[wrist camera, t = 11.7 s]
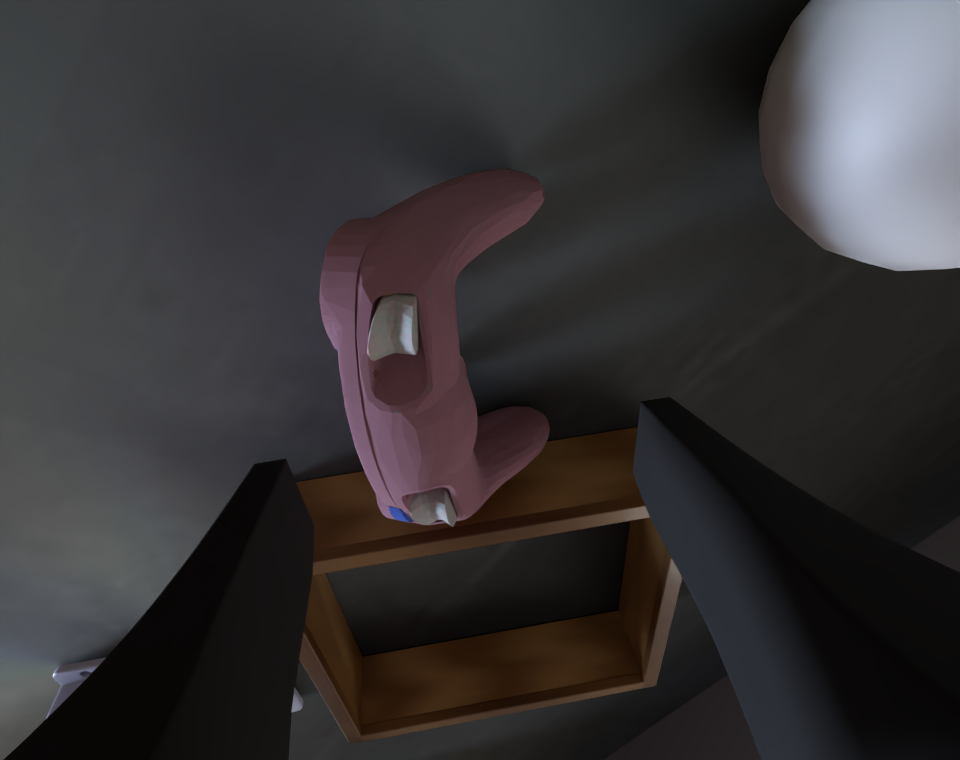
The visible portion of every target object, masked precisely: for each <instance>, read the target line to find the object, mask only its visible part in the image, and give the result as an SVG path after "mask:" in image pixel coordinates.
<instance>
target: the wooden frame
mask: <svg viewBox="0 0 960 760" xmlns="http://www.w3.org/2000/svg"><path fill="white" fill-rule="evenodd" d="M637 429H638V427H635V428H629V429H623V430H616V431H610V432H604V433H598V434H592V435H585V436H579V437H573V438H567V439H561V440H554V441H548V442H546V444H545V446H544V447H543V449H542V451H541V452H540V454H539V455H538V456H536V457H535V458H534V459H533V460H532V461H531V462H530V463H529V464H528V465H527V466H526V467H525V468H523V469H522V470H521V471H519V472H518V473H517V474H515V475H514V476H513V477H511V478H510V479H509V480H507V481H506V482H505V483H504V484H502V485H501V486H500V487H499V488H498V489H497V490H496V491H495V492H494V493H493V494H492V495H491V496H490V497H489V498H488V499H487V501H486V502H485V503H484V504H483V505H482V506H481V507H480V508H479V509H478V511H476V512H475V513H474V514H473V515H472V516H470V517H469V518H467V519H465V520H460V521H456V522H455V524H454V526H453V527H452V526H450V525H449V524H448V523H441V524H434V525H421V524H417V523H412V522H411V523H408V522H404V521H400V520H395V519H390V518H387V517H385V516H384V515H383V514H382V513H381V511H380V509H379V506H378V504H377V498H376V493H375V491H374V490H373V488H372V486H371V484H370V482H369V480H368V478H367V476H366V474H365V472H364V471H362V472H356V473H350V474H344V475H337V476H331V477H325V478H319V479H313V480H306V481H300V482H296V484H297V486H298V488H299V491H300V493H301V496H302V498H303V500H304V503H305V505H306V507H307V510H308V512H309V514H310V517H311V519H312V521H313V524H314V555H313V575H312V582H311V589H310V595H309V601H308V608H307V614H306V620H305V627H304V633H303V639H302V645H301V651H300V657H299V660H300V661H301V663H302V665H303V666H304V668H305V670H306V671H307V673H308V675H309V676H310V678H311V680H312V681H313V683H314V685H315V686H316V688H317V690H318V691H319V693H320V695H321V697H322V698H323V700H324V702H325V703H326V705H327V707H328V708H329V710H330V712H331V713H332V715H333V717H334V718H335V720H336V722H337V723H338V725H339V727H340V728H341V730H342V732H343V733H344V735H345V737H346V738H347V740H348V742H349V743H350V744H353V743H358V742H364V741H369V740H374V739H379V738H384V737H390V736H395V735H400V734H405V733H411V732H416V731H421V730H426V729H432V728H437V727H442V726H447V725H453V724H458V723H463V722H468V721H473V720H479V719H484V718H489V717H494V716H500V715H505V714H510V713H515V712H521V711H526V710H531V709H536V708H541V707H547V706H552V705H557V704H562V703H568V702H573V701H578V700H583V699H589V698H594V697H599V696H604V695H610V694H615V693H620V692H625V691H630V690H636V689H641V688H646V687H651V686H655V685H656V683H657V679H658V674H659V670H660V666H661V662H662V658H663V654H664V650H665V646H666V642H667V638H668V634H669V630H670V626H671V622H672V618H673V614H674V609H675V605H676V601H677V597H678V593H679V589H680V585H681V581H682V577H681V575H680V573H679V571H678V569H677V567H676V565H675V564H674V562H673V560H672V558H671V556H670V554H669V552H668V551H667V549H666V547H665V545H664V543H663V541H662V539H661V537H660V535H659V533H658V532H657V530H656V528H655V526H654V524H653V522H652V520H651V518H650V516H649V514H648V511H647V509H646V506H645V504H644V501H643V499H642V496H641V494H640V491H639V488H638V485H637V483H636V480H635V477H634V475H633V472H632V471H633V462H634V454H635V446H636V437H637ZM626 521H630V525H629V533H628V541H627V548H626V556H625V564H624V572H623V579H622V587H621V595H620V602H619V610H618V611H612V612H607V613H601V614H596V615H590V616H585V617H579V618H574V619H568V620H563V621H557V622H552V623H546V624H541V625H535V626H530V627H524V628H519V629H513V630H508V631H502V632H497V633H491V634H486V635H480V636H475V637H469V638H464V639H458V640H453V641H447V642H442V643H436V644H431V645H425V646H420V647H414V648H409V649H403V650H398V651H392V652H387V653H381V654H376V655H370V656H365V657H363V656H362V654H361V652H360V650H359V648H358V645H357V643H356V641H355V639H354V636H353V634H352V632H351V630H350V627H349V625H348V623H347V621H346V619H345V616H344V614H343V612H342V610H341V607H340V605H339V603H338V601H337V598H336V596H335V594H334V592H333V590H332V587H331V585H330V583H329V581H328V578H327V576H326V574H325V573H329V572H335V571H341V570H346V569H352V568H358V567H364V566H370V565H376V564H381V563H387V562H393V561H399V560H405V559H410V558H416V557H422V556H428V555H434V554H440V553H445V552H451V551H457V550H463V549H469V548H474V547H480V546H486V545H492V544H498V543H504V542H509V541H515V540H521V539H527V538H533V537H539V536H544V535H550V534H556V533H562V532H568V531H573V530H579V529H585V528H591V527H597V526H603V525H608V524H614V523H620V522H626Z"/></svg>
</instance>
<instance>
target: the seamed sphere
mask: <svg viewBox="0 0 960 760" xmlns="http://www.w3.org/2000/svg"><path fill="white" fill-rule="evenodd" d="M758 113H759V143H760V156H761V164H762V171H763V174H764V176H765V179H766V181H767V183H768V186H769V188H770V190H771V193H772V195H773V198H774V200H775V202H776V205H777V206H778V207H779V208H780V209H781V210H782V211H783V212H784V213H785V214H786V215H787V216H788V217H789V218H790V219H791V220H792V221H793V222H794V223H795V224H796V225H797V226H798V227H799V228H800V229H801V230H802V231H804V232H805V233H806V234H807V235H808V236H809V237H810V238H812V239H813V240H814V241H815V242H816V243H817V244H819V245H820V246H821V247H822V248H823V249H825V250H828V251H831V252H834V253H837V254H840V255H843V256H846V257H849V258H852V259H855V260H858V261H861V262H864V263H868V264H872V265H876V266H880V267H884V268H887V269H891V270H895V271H910V270H933V269H951V268H960V0H810V2H809V3H808V4H807V5H806V7H805V8H804V9H803V10H802V12H801V13H800V14H799V15H798V17H797V18H796V19H795V20H794V22H793V23H792V24H791V26H790V28H789V30H788V32H787V34H786V36H785V38H784V40H783V42H782V44H781V46H780V48H779V50H778V52H777V54H776V56H775V58H774V60H773V62H772V64H771V66H770V68H769V71H768V75H767V79H766V84H765V88H764V92H763V96H762V100H761V104H760V108H759V112H758Z"/></svg>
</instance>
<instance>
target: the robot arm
mask: <svg viewBox="0 0 960 760" xmlns="http://www.w3.org/2000/svg"><path fill="white" fill-rule="evenodd" d="M632 472H633V475H634V477H635V480H636V483H637V485H638V488H639V491H640V494H641V496H642V499H643V501H644V504H645V506H646V509H647V511H648V514H649V516H650V518H651V520H652V522H653V524H654V526H655V528H656V530H657V532H658V533H659V535H660V537H661V539H662V541H663V543H664V545H665V547H666V549H667V551H668V552H669V554H670V556H671V558H672V560H673V562H674V564H675V565H676V567H677V569H678V571H679V573H680V575H681V577H682V578H683V580H684V582H685V584H686V586H687V588H688V590H689V591H690V593H691V595H692V597H693V599H694V601H695V603H696V604H697V606H698V608H699V610H700V612H701V614H702V616H703V618H704V620H705V622H706V624H707V626H708V628H709V630H710V633H711V635H712V637H713V639H714V642H715V644H716V647H717V649H718V651H719V654H720V656H721V658H722V661H723V663H724V666H725V668H726V670H727V673H728V675H729V677H730V680H731V682H732V685H733V687H734V690H735V692H736V695H737V697H738V700H739V703H740V705H741V707H742V710H743V712H744V715H745V718H746V720H747V723H748V725H749V728H750V730H751V733H752V735H753V738H754V740H755V743H756V746H757V749H758V751H759V754H760V757H761V759H762V760H960V572H958V571H956V570H953V569H951V568H949V567H946V566H945V565H942V564H940V563H938V562H936V561H934V560H932V559H930V558H927V557H926V556H924V555H921V554H919V553H917V552H915V551H913V550H911V549H909V548H907V547H905V546H902V545H900V544H898V543H897V542H895V541H893V540H891V539H889V538H887V537H885V536H883V535H881V534H879V533H877V532H875V531H873V530H871V529H869V528H868V527H866V526H864V525H862V524H860V523H858V522H857V521H855V520H853V519H851V518H849V517H848V516H846V515H844V514H842V513H840V512H838V511H837V510H835V509H833V508H831V507H830V506H828V505H826V504H825V503H823V502H821V501H819V500H818V499H816V498H814V497H813V496H811V495H810V494H808V493H806V492H805V491H803V490H802V489H800V488H798V487H797V486H795V485H794V484H792V483H790V482H789V481H787V480H786V479H784V478H783V477H781V476H779V475H778V474H776V473H775V472H773V471H772V470H770V469H769V468H767V467H766V466H764V465H763V464H762V463H760V462H759V461H757V460H756V459H754V458H753V457H751V456H750V455H748V454H747V453H746V452H744V451H743V450H741V449H740V448H739V447H737V446H736V445H734V444H733V443H732V442H730V441H729V440H727V439H726V438H725V437H723V436H722V435H721V434H719V433H718V432H716V431H715V430H714V429H712V428H711V427H710V426H708V425H707V424H706V423H704V422H703V421H702V420H700V419H699V418H698V417H696V416H695V415H694V414H692V413H691V412H690V411H688V410H687V409H685V408H684V407H683V406H681V405H680V404H679V403H677V402H676V401H674V400H673V399H672V398H670V397H667V398H661V399H654V400H648V401H642V402H641V404H640V412H639V421H638V429H637V437H636V446H635V454H634V462H633V471H632ZM313 555H314V524H313V521H312V519H311V517H310V514H309V512H308V510H307V507H306V505H305V503H304V500H303V498H302V496H301V493H300V491H299V488H298V486H297V484H296V481H295V479H294V477H293V474H292V472H291V470H290V467H289V465H288V463H287V460H286V459H282V460H276V461H270V462H263V463H257V464H254V465H253V467H252V468H251V469H250V471H249V472H248V474H247V475H246V476H245V478H244V479H243V481H242V482H241V484H240V485H239V487H238V488H237V489H236V491H235V492H234V494H233V495H232V497H231V498H230V500H229V501H228V503H227V504H226V506H225V507H224V508H223V510H222V511H221V513H220V514H219V516H218V517H217V519H216V520H215V521H214V523H213V524H212V526H211V527H210V529H209V530H208V531H207V533H206V534H205V535H204V537H203V538H202V540H201V541H200V542H199V544H198V545H197V547H196V548H195V549H194V551H193V552H192V553H191V555H190V556H189V558H188V559H187V560H186V562H185V563H184V564H183V566H182V567H181V568H180V570H179V571H178V572H177V573H176V575H175V576H174V577H173V578H172V580H171V581H170V582H169V584H168V585H167V586H166V587H165V589H164V590H163V591H162V592H161V594H160V595H159V596H158V598H157V599H156V600H155V601H154V603H153V604H152V605H151V606H150V608H149V609H148V610H147V611H146V613H145V614H144V615H143V616H142V617H141V618H140V620H139V621H138V622H137V623H136V624H135V626H134V627H133V628H132V629H131V630H130V631H129V633H128V634H127V635H126V636H125V637H124V638H123V639H122V641H121V642H120V643H119V644H118V645H117V646H116V647H115V648H114V649H113V651H112V652H111V653H110V654H109V655H108V656H107V657H105V658H99V659H93V660H88V661H82V662H77V663H71V664H65V665H61V666H59V667H57V668H56V670H55V672H54V674H53V678H54V680H56V681H57V682H58V683H59V684H60V685H62V686H61V687H60V689H59V692H58V694H57V696H56V698H55V700H54V702H53V705H52V707H51V709H50V711H49V713H48V715H47V717H46V720H45V721H44V722H43V723H42V724H41V725H40V726H39V727H38V728H37V729H36V730H35V731H34V732H33V733H32V734H31V735H30V736H28V737H27V738H26V739H25V740H24V741H23V742H22V743H21V744H20V745H19V746H18V747H17V748H16V749H15V750H14V751H13V752H11V753H10V754H9V755H8V756H7V757H6V758H5V759H4V760H288V757H289V742H290V727H291V713H292V712H295V711H299V710H300V709H302V707H303V699H302V697H301V696H300V694H299V693H298V691H297V690H296V688H295V682H296V676H297V670H298V663H299V657H300V651H301V645H302V639H303V633H304V627H305V620H306V614H307V608H308V601H309V595H310V589H311V582H312V575H313Z"/></svg>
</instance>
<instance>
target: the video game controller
mask: <svg viewBox="0 0 960 760" xmlns="http://www.w3.org/2000/svg"><path fill="white" fill-rule="evenodd" d="M544 199H545V195H544V190H543V187H542V185H541V183H540V182H539V180H538V179H536V178H535V177H533V176H531V175H528V174H526V173H524V172H521V171H516V170H512V169H497V170H488V171H481V172H475V173H471V174H467V175H464V176H460V177H457V178H453V179H451V180H448V181H446V182H443V183H440V184H438V185H435V186H433V187H430V188H428V189H425V190H423V191H421V192H419V193H417V194H415V195H414V196H412V197H410V198H408V199H406V200H404V201H403V202H401V203H399V204H397V205H395V206H394V207H392V208H390V209H388V210H386V211H385V212H383V213H381V214H379V215H377V216H375V217H374V218H365V219H353V220H350V221H348V222H346V223H345V224H344V225H342V226H341V227H340V228H339V229H338V230H337V231H336V232H335V233H334V235H333V237H332V239H331V241H330V243H329V245H328V247H327V250H326V252H325V256H324V261H323V266H322V271H321V283H320V296H319V299H320V308H321V315H322V321H323V325H324V327H325V330H326V332H327V335H328V337H329V339H330V340H331V342H332V344H333V346H334V348H335V349H336V350H337V351H338V359H339V370H340V376H341V383H342V390H343V397H344V404H345V410H346V414H347V418H348V422H349V426H350V430H351V433H352V437H353V441H354V445H355V448H356V451H357V454H358V456H359V459H360V461H361V464H362V466H363V469H364V472H365V474H366V476H367V478H368V480H369V482H370V484H371V486H372V488H373V490H374V491H375V493H376V498H377V504H378V506H379V509H380V511H381V513H382V514H383V515H384V516H385V517H387V518H390V519H395V520H400V521H404V522H408V523H411V522H412V523H417V524H421V525H434V524H441V523H448V524H449V525H450V526H452V527H453V526H454V524H455V522H456V521H460V520H465V519H467V518H469V517H470V516H472V515H473V514H474V513H475V512H476V511H478V509H479V508H480V507H481V506H482V505H483V504H484V503H485V502H486V501H487V499H488V498H489V497H490V496H491V495H492V494H493V493H494V492H495V491H496V490H497V489H498V488H499V487H500V486H501V485H502V484H504V483H505V482H506V481H507V480H509V479H510V478H511V477H513V476H514V475H515V474H517V473H518V472H519V471H521V470H522V469H523V468H525V467H526V466H527V465H528V464H529V463H530V462H531V461H532V460H533V459H534V458H535V457H536V456H538V455H539V454H540V452H541V451H542V449H543V447H544V446H545V444H546V442H547V440H548V436H549V431H550V428H549V423H548V420H547V418H546V416H545V415H544V414H542V413H541V412H540V411H538V410H536V409H533V408H531V407H522V406H510V407H506V408H502V409H498V410H495V411H492V412H489V413H486V414H483V415H481V416H479V417H477V409H476V404H475V400H474V397H473V394H472V391H471V387H470V384H469V381H468V378H467V370H466V364H465V362H464V359H463V357H462V356H461V355H460V349H459V337H458V325H457V314H456V303H455V301H456V295H455V282H456V279H457V277H458V274H459V273H460V272H461V271H462V270H463V268H464V267H465V266H466V265H467V264H468V263H469V262H470V261H472V260H473V259H474V258H475V257H477V256H478V255H479V254H480V253H482V252H483V251H484V250H485V249H487V248H488V247H490V246H491V245H493V244H494V243H496V242H498V241H499V240H501V239H502V238H504V237H505V236H507V235H509V234H510V233H512V232H513V231H515V230H517V229H518V228H520V227H521V226H523V225H525V224H526V223H527V222H528V221H529V220H530V219H531V218H532V216H533V215H534V214H535V213H536V211H537V210H538V209H539V208H540V207H541V205H542V204H543V202H544Z"/></svg>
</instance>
